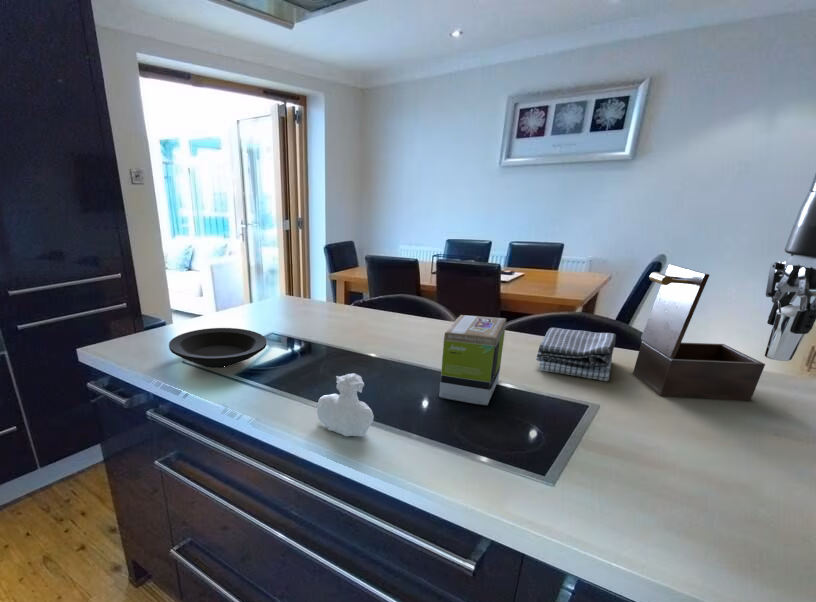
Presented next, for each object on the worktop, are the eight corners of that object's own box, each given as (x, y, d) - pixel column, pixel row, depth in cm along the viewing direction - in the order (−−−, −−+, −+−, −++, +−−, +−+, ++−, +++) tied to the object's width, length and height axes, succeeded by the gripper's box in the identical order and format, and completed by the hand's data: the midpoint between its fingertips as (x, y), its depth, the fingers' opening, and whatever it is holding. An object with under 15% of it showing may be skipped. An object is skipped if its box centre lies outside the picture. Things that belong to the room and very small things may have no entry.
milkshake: (747, 353, 79) (768, 298, 76) (782, 354, 78) (806, 298, 74) (766, 362, 75) (789, 304, 71) (803, 363, 74) (829, 304, 70)
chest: (711, 377, 98) (723, 343, 95) (750, 400, 87) (765, 364, 84) (632, 373, 102) (641, 341, 98) (660, 395, 90) (671, 360, 87)
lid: (673, 264, 92) (644, 262, 92) (710, 274, 80) (676, 271, 81) (644, 339, 98) (617, 336, 99) (674, 358, 87) (644, 354, 88)
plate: (154, 360, 120) (151, 340, 117) (228, 340, 134) (226, 322, 132) (208, 389, 100) (205, 366, 98) (287, 362, 115) (286, 342, 113)
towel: (612, 359, 110) (620, 329, 107) (607, 384, 96) (616, 350, 93) (544, 349, 118) (550, 321, 115) (531, 371, 105) (537, 339, 102)
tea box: (453, 374, 104) (460, 312, 98) (499, 381, 100) (509, 317, 94) (437, 398, 92) (444, 330, 87) (488, 407, 88) (498, 336, 82)
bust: (373, 447, 79) (395, 389, 81) (356, 438, 73) (379, 376, 75) (321, 428, 86) (341, 375, 88) (301, 418, 80) (323, 362, 82)
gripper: (906, 225, 61) (851, 342, 68) (820, 219, 74) (781, 318, 80) (839, 226, 63) (792, 341, 69) (767, 220, 75) (732, 317, 82)
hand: (786, 328), depth 75 cm, fingers closed on milkshake, 4 cm apart
